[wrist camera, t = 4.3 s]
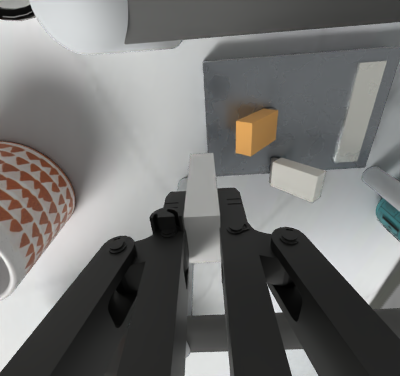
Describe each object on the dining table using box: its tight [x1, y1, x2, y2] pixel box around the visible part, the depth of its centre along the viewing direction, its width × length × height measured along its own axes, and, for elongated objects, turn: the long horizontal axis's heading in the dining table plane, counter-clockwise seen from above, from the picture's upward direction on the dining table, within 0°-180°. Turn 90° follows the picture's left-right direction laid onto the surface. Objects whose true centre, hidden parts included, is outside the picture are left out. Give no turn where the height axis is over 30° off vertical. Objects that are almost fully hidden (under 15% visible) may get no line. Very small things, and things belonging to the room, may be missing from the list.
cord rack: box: [29, 0, 400, 358], centre depth 18 cm, size 26×19×20 cm
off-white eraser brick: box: [269, 157, 326, 203], centre depth 25 cm, size 2×3×6 cm
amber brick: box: [236, 108, 278, 156], centre depth 23 cm, size 2×3×6 cm
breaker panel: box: [203, 47, 400, 176], centre depth 26 cm, size 18×12×3 cm, turn 94°
